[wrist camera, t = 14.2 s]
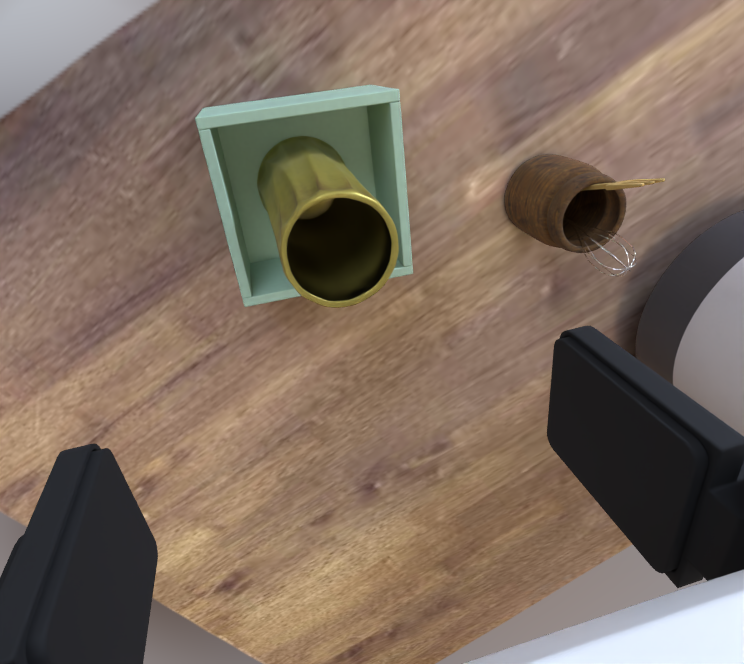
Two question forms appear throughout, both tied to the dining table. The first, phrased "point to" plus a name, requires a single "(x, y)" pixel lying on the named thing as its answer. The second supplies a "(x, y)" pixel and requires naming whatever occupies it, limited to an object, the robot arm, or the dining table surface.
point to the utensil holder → (568, 204)
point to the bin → (291, 119)
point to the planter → (701, 322)
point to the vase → (325, 224)
